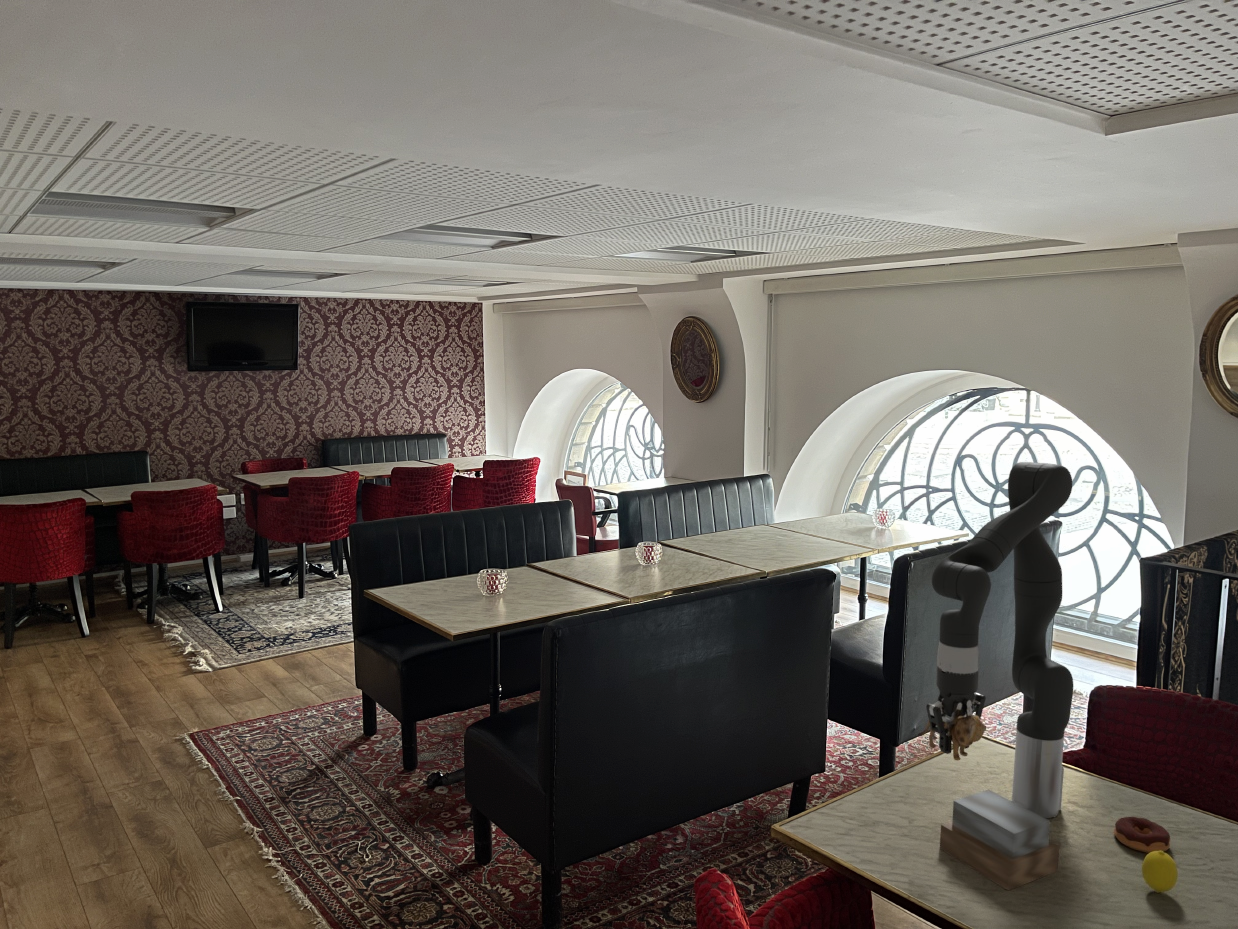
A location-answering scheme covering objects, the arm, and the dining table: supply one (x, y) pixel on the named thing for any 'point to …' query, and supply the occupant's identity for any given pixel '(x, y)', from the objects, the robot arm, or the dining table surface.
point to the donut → (1142, 834)
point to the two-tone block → (1000, 839)
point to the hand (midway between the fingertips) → (954, 749)
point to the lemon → (1159, 871)
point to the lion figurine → (961, 734)
